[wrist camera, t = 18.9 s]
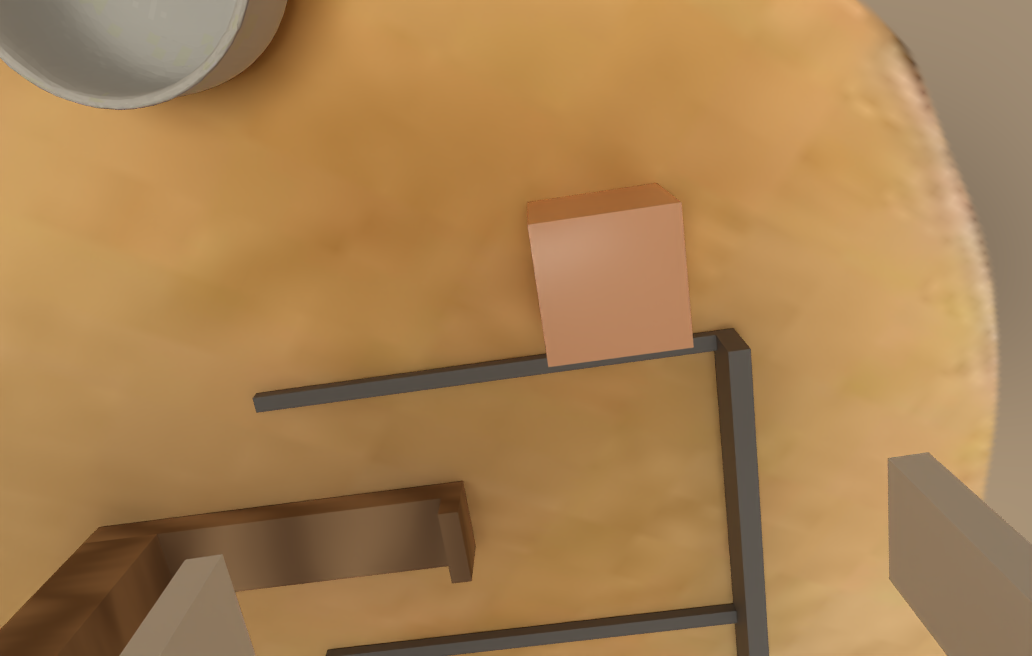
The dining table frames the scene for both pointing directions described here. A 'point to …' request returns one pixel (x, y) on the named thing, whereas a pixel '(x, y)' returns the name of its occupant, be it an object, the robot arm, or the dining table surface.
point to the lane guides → (743, 612)
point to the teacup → (134, 46)
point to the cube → (611, 274)
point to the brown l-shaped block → (238, 560)
